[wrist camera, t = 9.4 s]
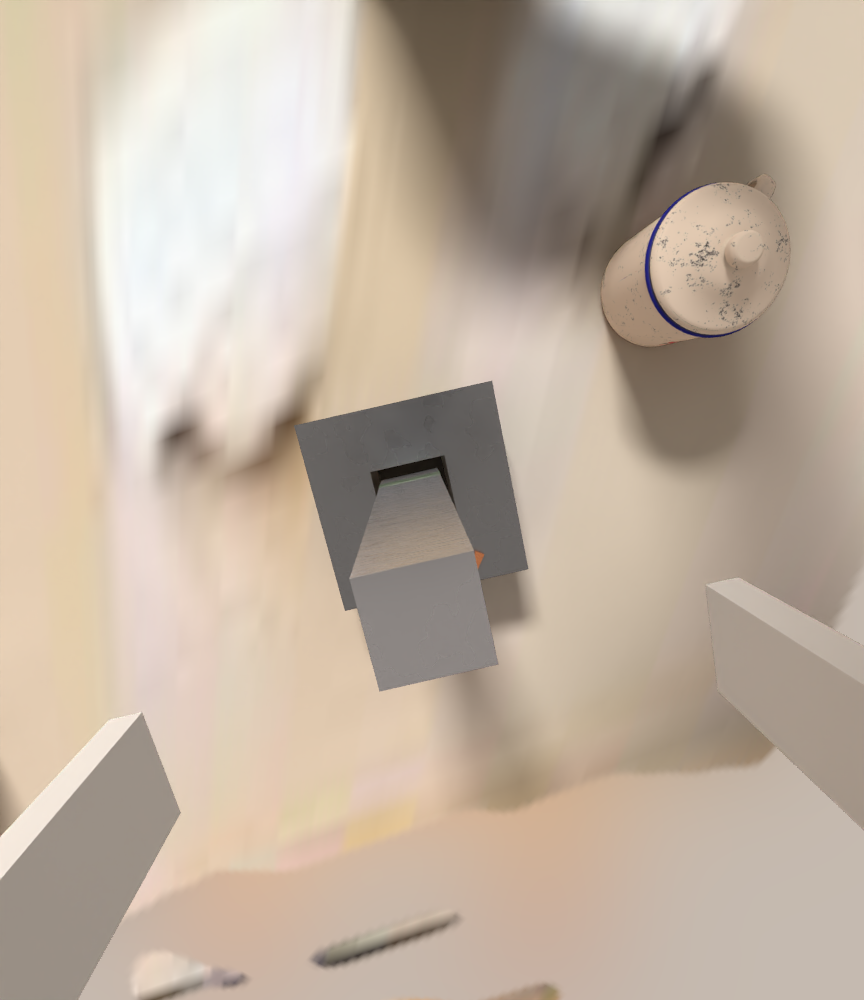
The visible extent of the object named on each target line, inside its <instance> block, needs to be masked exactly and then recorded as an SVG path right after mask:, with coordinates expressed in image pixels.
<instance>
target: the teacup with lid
mask: <svg viewBox="0 0 864 1000" xmlns="http://www.w3.org/2000/svg"><path fill="white" fill-rule="evenodd" d="M774 190H775V181H774V180H773V179H772V178H771V177H770V176H768V175H760V176H758V177H756V178H755V179H753V180H751V181H750V182H749V183H747V184H746V185H744V184H740V183H734V182H721V183H712V184H707V185H704V186H701V187H698V188H696V189H693V190H692V191H690V192H688V193H686V194H685V195H683V196H682V197H680V198H679V199H678V200H676V201H675V202H674V203H673V204H672V205H671V206H670V207H669V208H668V209H667V210H666V211H665V213H664V214H663V215H662V216H661V217H660V218H658V219H657V220H655V221H654V222H653V223H651V224H650V225H649V226H647V227H646V228H644V229H643V230H642V231H640V232H639V233H638V234H636V235H635V236H633V237H632V238H631V239H629V240H628V241H627V242H625V243H624V244H623V245H622V246H621V247H620V248H619V249H618V250H617V251H616V253H615V254H614V255H613V257H612V258H611V260H610V261H609V263H608V265H607V267H606V270H605V273H604V276H603V280H602V286H601V300H602V306H603V310H604V313H605V316H606V318H607V320H608V322H609V324H610V325H611V327H612V328H613V329H614V330H615V331H616V332H617V333H618V334H619V335H620V336H621V337H622V338H624V339H625V340H627V341H629V342H631V343H633V344H636V345H640V346H647V347H655V346H662V345H667V344H671V343H676V342H680V341H685V340H690V339H694V338H699V337H703V338H713V337H721V336H725V335H729V334H732V333H734V332H737V331H739V330H741V329H743V328H745V327H746V326H748V325H749V324H751V323H752V322H754V321H755V320H756V319H757V318H758V317H760V316H761V315H762V314H763V313H764V312H765V311H766V310H767V309H768V307H769V306H770V305H771V304H772V302H773V301H774V300H775V298H776V297H777V295H778V293H779V291H780V289H781V288H782V285H783V283H784V281H785V278H786V275H787V272H788V267H789V261H790V238H789V233H788V229H787V226H786V223H785V220H784V218H783V216H782V214H781V213H780V211H779V209H778V208H777V207H776V205H775V204H774V203H773V202H772V201H771V200H770V198H771V196H772V194H773V193H774Z"/></svg>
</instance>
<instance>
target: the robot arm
mask: <svg viewBox="0 0 864 1000" xmlns="http://www.w3.org/2000/svg"><path fill="white" fill-rule="evenodd" d="M705 587H706V595H707V604H708V613H709V621H710V630H711V639H712V647H713V656H714V665H715V673H716V682H717V691H718V692H719V693H720V694H721V695H722V696H723V697H724V698H725V699H726V700H727V701H729V702H730V703H731V704H732V705H733V706H734V707H735V708H736V709H737V710H738V711H739V712H740V713H741V714H742V715H743V716H744V717H745V718H746V719H747V720H748V721H750V722H751V723H752V724H753V725H754V726H755V727H756V728H757V729H758V730H759V731H760V732H761V733H762V734H763V735H764V736H765V737H766V738H767V739H768V740H769V741H770V742H772V743H773V744H774V745H775V746H776V747H777V748H778V749H779V750H780V751H781V752H782V753H783V754H784V755H785V756H786V757H787V758H788V759H789V760H791V761H792V762H793V763H794V764H795V765H796V766H797V767H798V768H799V769H800V770H801V771H802V772H803V773H804V774H805V775H806V776H807V777H808V778H809V779H810V780H811V781H812V782H814V783H815V784H816V785H817V786H818V787H819V788H820V789H821V790H822V791H823V792H824V793H825V794H826V795H827V796H828V797H829V798H830V799H832V801H833V802H835V803H836V804H837V805H838V806H839V807H840V808H841V809H842V810H843V811H844V812H845V813H846V814H847V815H848V816H849V817H850V818H851V819H852V820H853V821H855V822H856V823H857V824H858V825H859V826H860V827H861V828H862V829H863V830H864V646H863V645H861V644H860V643H858V642H856V641H854V640H852V639H850V638H849V637H847V636H845V635H843V634H841V633H839V632H838V631H836V630H834V629H832V628H830V627H828V626H827V625H825V624H823V623H821V622H819V621H817V620H816V619H814V618H812V617H810V616H808V615H806V614H805V613H803V612H801V611H799V610H797V609H796V608H794V607H792V606H790V605H788V604H786V603H785V602H783V601H781V600H779V599H777V598H775V597H774V596H772V595H770V594H768V593H766V592H764V591H763V590H761V589H759V588H757V587H755V586H753V585H752V584H750V583H748V582H746V581H744V580H743V579H741V578H739V577H737V578H732V579H728V580H723V581H719V582H714V583H710V584H706V585H705ZM180 813H181V812H180V810H179V807H178V804H177V802H176V799H175V797H174V794H173V791H172V789H171V786H170V784H169V781H168V778H167V776H166V773H165V771H164V768H163V765H162V763H161V760H160V758H159V755H158V752H157V750H156V747H155V745H154V742H153V739H152V737H151V734H150V732H149V729H148V726H147V724H146V721H145V719H144V716H143V713H142V712H141V713H136V714H132V715H127V716H123V717H118V718H114V719H110V720H108V721H107V723H106V724H105V725H104V726H103V727H102V728H101V729H100V730H99V731H98V732H97V733H96V734H95V735H94V736H93V738H92V739H91V740H90V741H89V742H88V743H87V744H86V745H85V746H84V747H83V748H82V749H81V750H80V752H79V753H78V754H77V755H76V756H75V757H74V758H73V759H72V760H71V761H70V762H69V763H68V764H67V766H66V767H65V768H64V769H63V770H62V771H61V772H60V773H59V774H58V775H57V776H56V777H55V778H54V780H53V781H52V782H51V783H50V784H49V785H48V786H47V787H46V788H45V789H44V790H43V791H42V792H41V794H40V795H39V796H38V797H37V798H36V799H35V800H34V801H33V802H32V803H31V804H30V805H29V806H28V808H27V809H26V810H25V811H24V812H23V813H22V814H21V815H20V816H19V817H18V818H17V819H16V820H15V821H14V823H13V824H12V825H11V826H10V827H9V828H8V829H7V830H6V831H5V832H4V833H3V834H2V835H1V837H0V1000H78V998H79V997H80V995H81V993H82V991H83V989H84V987H85V986H86V984H87V982H88V980H89V978H90V977H91V975H92V973H93V971H94V969H95V968H96V966H97V964H98V962H99V960H100V958H101V957H102V955H103V953H104V951H105V949H106V948H107V946H108V944H109V942H110V940H111V938H112V937H113V935H114V933H115V931H116V929H117V927H118V926H119V924H120V922H121V920H122V918H123V917H124V915H125V913H126V911H127V909H128V907H129V906H130V904H131V902H132V900H133V898H134V897H135V895H136V893H137V891H138V889H139V887H140V886H141V884H142V882H143V880H144V878H145V877H146V875H147V873H148V871H149V869H150V867H151V866H152V864H153V862H154V860H155V858H156V857H157V855H158V853H159V851H160V849H161V847H162V846H163V844H164V842H165V840H166V838H167V837H168V835H169V833H170V831H171V829H172V827H173V826H174V824H175V822H176V820H177V818H178V816H179V815H180Z"/></svg>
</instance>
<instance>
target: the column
mask: <svg viewBox="0 0 864 1000" xmlns="http://www.w3.org/2000/svg"><path fill="white" fill-rule="evenodd" d="M349 580H350V583H351V587H352V591H353V594H354V598H355V602H356V606H357V609H358V613H359V617H360V620H361V624H362V628H363V632H364V635H365V639H366V643H367V646H368V650H369V654H370V657H371V661H372V665H373V669H374V672H375V676H376V680H377V683H378V687H379V691H384V690H388V689H393V688H397V687H401V686H406V685H410V684H414V683H419V682H423V681H427V680H432V679H436V678H441V677H445V676H449V675H454V674H458V673H462V672H467V671H471V670H476V669H480V668H484V667H489V666H493V665H497V664H498V661H497V656H496V652H495V647H494V642H493V638H492V633H491V628H490V624H489V619H488V614H487V610H486V605H485V600H484V596H483V591H482V586H481V582H480V577H479V572H478V568H477V563H476V558H475V553H474V550H473V547H472V545H471V543H470V541H469V538H468V536H467V534H466V532H465V529H464V527H463V525H462V523H461V520H460V518H459V516H458V513H457V511H456V509H455V507H454V504H453V502H452V500H451V498H450V495H449V493H448V491H447V489H446V486H445V484H444V482H443V480H442V477H441V475H440V472H439V471H438V468H434V469H430V470H425V471H421V472H417V473H412V474H408V475H403V476H399V477H395V478H390V479H386V480H382V481H381V484H380V486H379V490H378V493H377V496H376V499H375V502H374V505H373V508H372V511H371V514H370V517H369V521H368V524H367V527H366V530H365V533H364V536H363V539H362V542H361V545H360V548H359V551H358V554H357V557H356V560H355V563H354V566H353V569H352V572H351V575H350V578H349Z"/></svg>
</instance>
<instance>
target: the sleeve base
mask: <svg viewBox="0 0 864 1000" xmlns="http://www.w3.org/2000/svg"><path fill="white" fill-rule="evenodd" d="M294 427H295V430H296V434H297V438H298V441H299V445H300V449H301V452H302V456H303V459H304V463H305V467H306V470H307V474H308V478H309V481H310V485H311V489H312V492H313V496H314V499H315V503H316V507H317V510H318V514H319V518H320V521H321V525H322V529H323V532H324V536H325V539H326V543H327V547H328V550H329V554H330V558H331V561H332V565H333V569H334V572H335V576H336V579H337V583H338V587H339V590H340V594H341V598H342V601H343V605H344V609H345V611H346V610H351V609H355V608H357V606H356V602H355V598H354V594H353V591H352V587H351V583H350V580H349V578H350V575H351V572H352V569H353V566H354V563H355V560H356V557H357V554H358V551H359V548H360V545H361V542H362V539H363V536H364V533H365V530H366V527H367V524H368V521H369V517H370V514H371V511H372V508H373V505H374V502H375V499H376V496H377V493H378V490H379V486H380V484H381V483H380V479H379V475H378V471H377V470H381V469H386V468H390V467H395V466H399V465H403V464H408V463H412V462H417V461H421V460H425V459H430V458H434V457H439V456H441V458H442V462H443V467H444V471H445V476H446V481H447V485H448V490H449V494H450V498H451V500H452V502H453V504H454V507H455V509H456V511H457V513H458V516H459V518H460V520H461V523H462V525H463V527H464V529H465V532H466V534H467V536H468V538H469V541H470V543H471V545H472V547H473V550H474V553H475V558H476V563H477V568H478V572H479V577H480V580H482V579H486V578H491V577H495V576H500V575H504V574H508V573H513V572H517V571H522V570H526V569H528V565H527V560H526V555H525V550H524V545H523V539H522V534H521V529H520V524H519V519H518V514H517V508H516V503H515V498H514V493H513V488H512V482H511V477H510V472H509V467H508V462H507V456H506V451H505V446H504V441H503V436H502V431H501V425H500V420H499V415H498V410H497V405H496V399H495V394H494V389H493V384H492V381H489V382H485V383H480V384H476V385H471V386H467V387H462V388H458V389H454V390H449V391H445V392H440V393H436V394H432V395H427V396H423V397H418V398H414V399H410V400H405V401H401V402H396V403H392V404H388V405H383V406H379V407H374V408H370V409H365V410H361V411H357V412H352V413H348V414H343V415H339V416H335V417H330V418H326V419H321V420H317V421H313V422H308V423H304V424H299V425H295V426H294Z"/></svg>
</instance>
